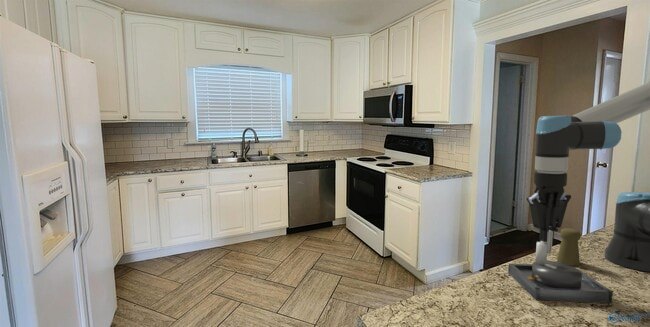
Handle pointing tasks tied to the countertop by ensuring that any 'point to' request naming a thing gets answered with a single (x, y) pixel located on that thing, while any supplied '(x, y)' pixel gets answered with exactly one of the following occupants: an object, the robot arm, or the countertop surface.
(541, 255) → the lever
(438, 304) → the countertop surface
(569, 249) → the cork
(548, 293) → the dark grey tray
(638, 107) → the robot arm
